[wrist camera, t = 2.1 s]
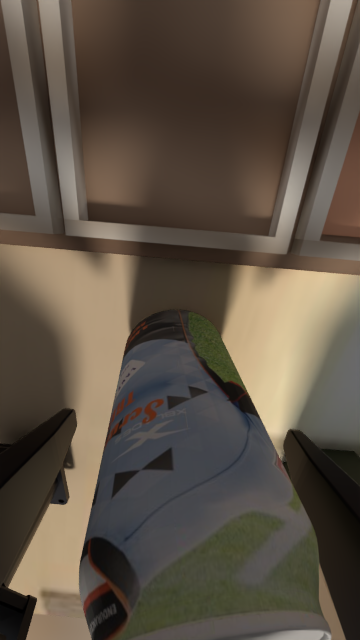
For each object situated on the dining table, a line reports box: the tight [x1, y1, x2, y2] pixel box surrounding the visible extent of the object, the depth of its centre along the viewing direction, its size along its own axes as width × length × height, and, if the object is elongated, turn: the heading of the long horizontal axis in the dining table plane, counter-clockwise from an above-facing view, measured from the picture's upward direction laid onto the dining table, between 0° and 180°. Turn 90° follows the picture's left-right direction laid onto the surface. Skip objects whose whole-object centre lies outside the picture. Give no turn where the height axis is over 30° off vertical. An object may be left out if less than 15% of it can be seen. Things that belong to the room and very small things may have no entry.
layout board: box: [0, 0, 360, 275], centre depth 9 cm, size 12×33×2 cm, turn 85°
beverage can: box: [79, 310, 331, 640], centre depth 10 cm, size 6×7×12 cm
